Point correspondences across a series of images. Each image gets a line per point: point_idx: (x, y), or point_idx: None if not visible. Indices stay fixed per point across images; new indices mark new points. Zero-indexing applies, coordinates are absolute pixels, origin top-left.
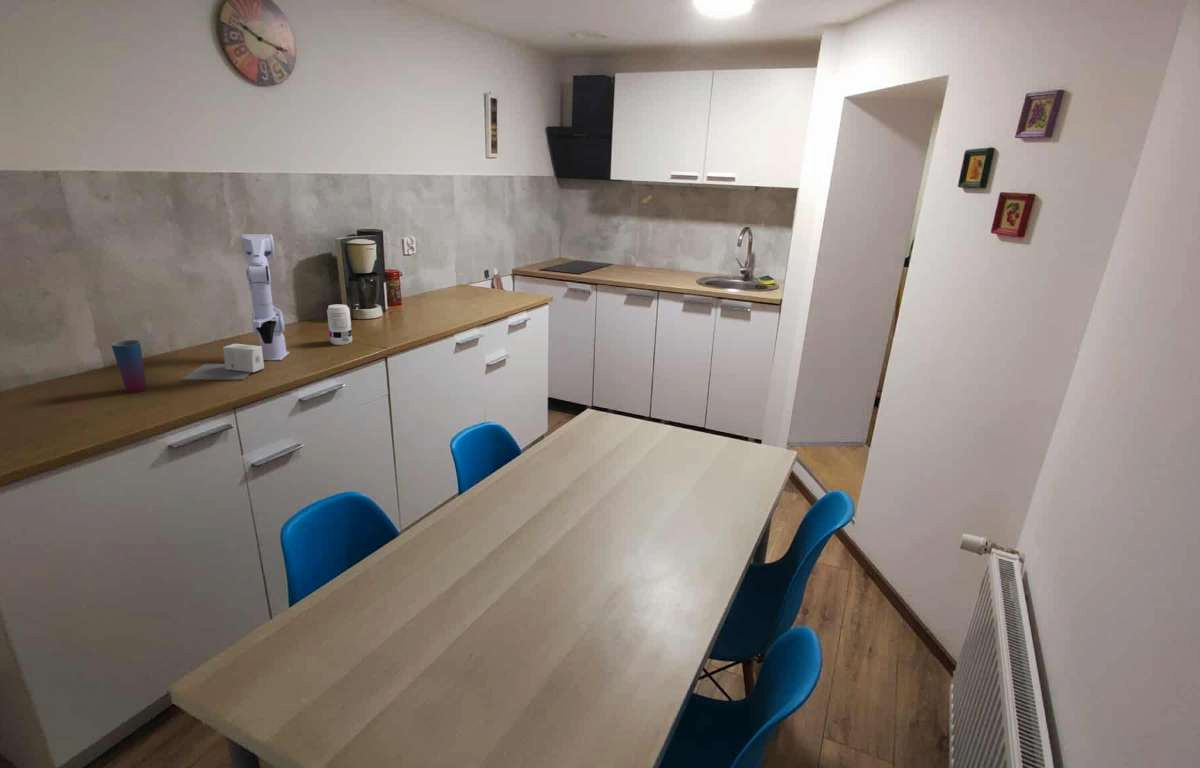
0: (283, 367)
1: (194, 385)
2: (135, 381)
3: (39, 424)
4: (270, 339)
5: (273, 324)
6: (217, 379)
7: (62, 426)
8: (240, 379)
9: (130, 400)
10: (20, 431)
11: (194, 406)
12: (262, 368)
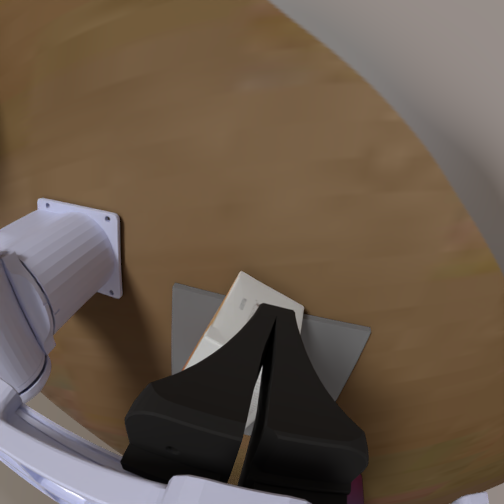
0: (213, 191)
1: (360, 422)
2: (362, 495)
3: (444, 498)
4: (298, 332)
5: (305, 435)
6: (340, 391)
7: (470, 483)
8: (367, 336)
9: (406, 471)
10: (456, 498)
11: None
12: (251, 277)
